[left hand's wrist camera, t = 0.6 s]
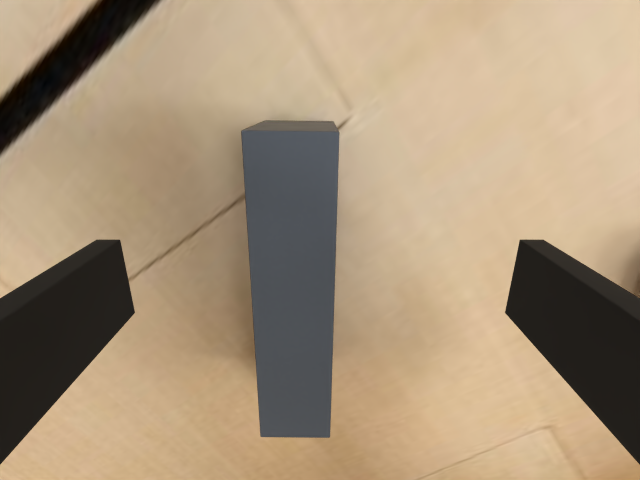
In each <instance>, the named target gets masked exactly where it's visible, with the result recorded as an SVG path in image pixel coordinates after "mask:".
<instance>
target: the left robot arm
mask: <svg viewBox="0 0 640 480" xmlns="http://www.w3.org/2000/svg"><path fill="white" fill-rule="evenodd" d="M134 313H135V311H134V306H133V301H132V296H131V291H130V286H129V281H128V276H127V272H126V267H125V262H124V257H123V252H122V247H121V242H120V240H96V241H94V242H92V243H91V244H89V245H87V246H86V247H84V248H82V249H81V250H79V251H77V252H76V253H74V254H73V255H71V256H69V257H68V258H66V259H64V260H63V261H61V262H59V263H58V264H56V265H54V266H53V267H51V268H49V269H48V270H46V271H45V272H43V273H41V274H40V275H38V276H36V277H35V278H33V279H31V280H30V281H28V282H26V283H25V284H23V285H22V286H20V287H18V288H17V289H15V290H13V291H12V292H10V293H8V294H7V295H5V296H3V297H2V298H0V464H1V463H2V462H3V461H4V460H5V459H6V457H7V456H8V455H9V454H10V453H11V452H12V451H13V450H14V448H15V447H16V446H17V445H18V444H19V443H20V442H21V440H22V439H23V438H24V437H25V436H26V435H27V434H28V433H29V431H30V430H31V429H32V428H33V427H34V426H35V425H36V424H37V422H38V421H39V420H40V419H41V418H42V417H43V416H44V415H45V413H46V412H47V411H48V410H49V409H50V408H51V407H52V406H53V404H54V403H55V402H56V401H57V400H58V399H59V398H60V397H61V395H62V394H63V393H64V392H65V391H66V390H67V389H68V388H69V386H70V385H71V384H72V383H73V382H74V381H75V380H76V378H77V377H78V376H79V375H80V374H81V373H82V372H83V371H84V369H85V368H86V367H87V366H88V365H89V364H90V363H91V362H92V360H93V359H94V358H95V357H96V356H97V355H98V354H99V353H100V351H101V350H102V349H103V348H104V347H105V346H106V345H107V344H108V342H109V341H110V340H111V339H112V338H113V337H114V336H115V335H116V333H117V332H118V331H119V330H120V329H121V328H122V327H123V326H124V324H125V323H126V322H127V321H128V320H129V319H130V318H131V317H132V315H133V314H134ZM505 313H506V314H507V315H508V317H509V318H510V319H511V320H512V321H513V322H514V323H515V324H516V326H517V327H518V328H519V329H520V330H521V331H522V332H523V333H524V335H525V336H526V337H527V338H528V339H529V340H530V341H531V342H532V344H533V345H534V346H535V347H536V348H537V349H538V350H539V351H540V353H541V354H542V355H543V356H544V357H545V358H546V359H547V360H548V362H549V363H550V364H551V365H552V366H553V367H554V368H555V369H556V371H557V372H558V373H559V374H560V375H561V376H562V377H563V379H564V380H565V381H566V382H567V383H568V384H569V385H570V386H571V388H572V389H573V390H574V391H575V392H576V393H577V394H578V395H579V397H580V398H581V399H582V400H583V401H584V402H585V403H586V404H587V406H588V407H589V408H590V409H591V410H592V411H593V412H594V413H595V415H596V416H597V417H598V418H599V419H600V420H601V421H602V422H603V424H604V425H605V426H606V427H607V428H608V429H609V430H610V431H611V433H612V434H613V435H614V436H615V437H616V438H617V439H618V440H619V442H620V443H621V444H622V445H623V446H624V447H625V448H626V450H627V451H628V452H629V453H630V454H631V455H632V456H633V457H634V459H635V460H636V461H637V462H638V463H639V464H640V298H638V297H637V296H635V295H633V294H632V293H630V292H628V291H627V290H625V289H623V288H622V287H620V286H618V285H617V284H615V283H614V282H612V281H610V280H609V279H607V278H605V277H604V276H602V275H600V274H599V273H597V272H595V271H594V270H592V269H591V268H589V267H587V266H586V265H584V264H582V263H581V262H579V261H577V260H576V259H574V258H572V257H571V256H569V255H567V254H566V253H564V252H563V251H561V250H559V249H558V248H556V247H554V246H553V245H551V244H549V243H548V242H546V241H544V240H520V242H519V247H518V252H517V257H516V262H515V267H514V272H513V276H512V281H511V286H510V291H509V296H508V301H507V306H506V311H505Z"/></svg>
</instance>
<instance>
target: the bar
mask: <svg viewBox="0 0 640 480" xmlns="http://www.w3.org/2000/svg"><path fill="white" fill-rule="evenodd" d="M241 135H242V151H243V167H244V183H245V198H246V214H247V230H248V246H249V261H250V277H251V293H252V309H253V325H254V340H255V356H256V372H257V388H258V403H259V419H260V435H261V437H317V438H329V437H330V421H331V388H332V355H333V322H334V290H335V257H336V224H337V191H338V158H339V131H338V129H337V127H336V125H335V124H334V122H333V121H263V122H261V123H258V124H256V125H254V126H251V127H249V128H247V129H244V130H242V131H241Z"/></svg>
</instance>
